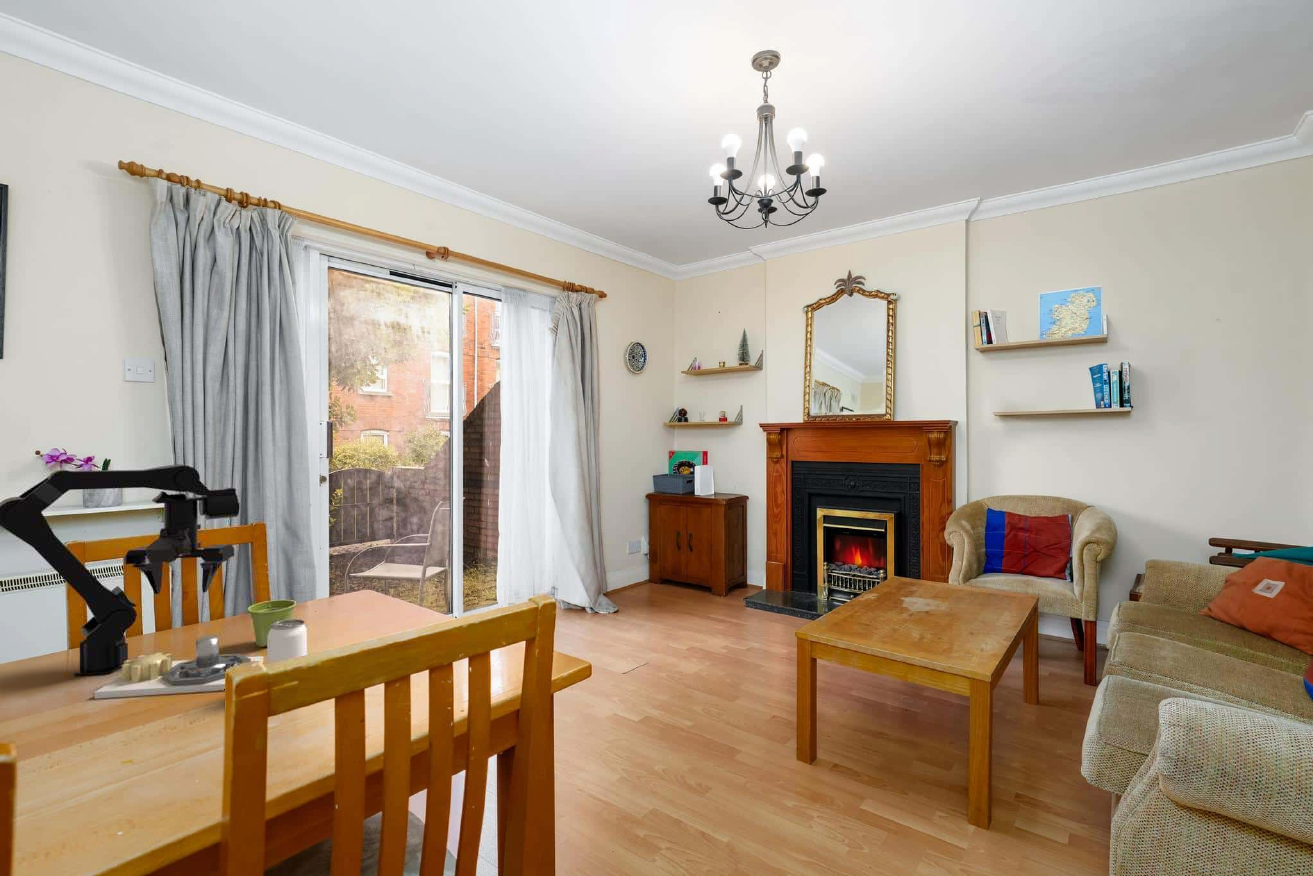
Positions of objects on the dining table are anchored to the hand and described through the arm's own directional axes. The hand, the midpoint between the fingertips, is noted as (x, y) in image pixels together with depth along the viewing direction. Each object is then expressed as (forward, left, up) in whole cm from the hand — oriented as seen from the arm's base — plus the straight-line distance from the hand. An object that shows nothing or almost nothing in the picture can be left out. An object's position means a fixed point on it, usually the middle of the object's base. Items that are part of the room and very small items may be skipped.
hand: (181, 593), depth 133 cm
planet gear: (+13, -16, -12) cm, 24 cm away
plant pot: (+17, +3, -13) cm, 22 cm away
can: (+30, -23, -13) cm, 40 cm away
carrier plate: (+9, -16, -13) cm, 22 cm away
